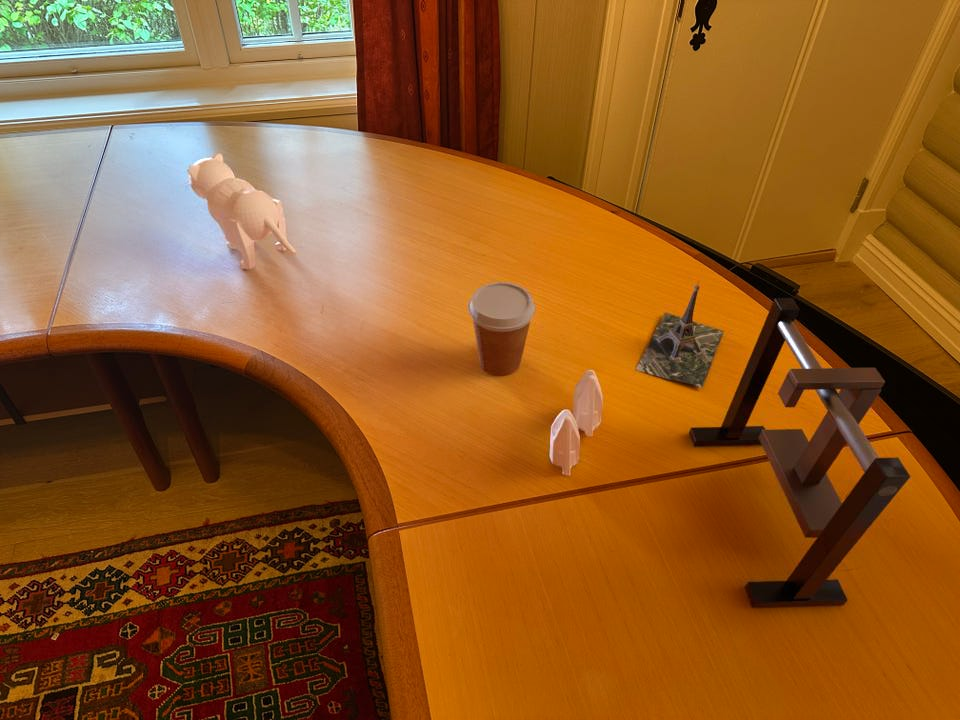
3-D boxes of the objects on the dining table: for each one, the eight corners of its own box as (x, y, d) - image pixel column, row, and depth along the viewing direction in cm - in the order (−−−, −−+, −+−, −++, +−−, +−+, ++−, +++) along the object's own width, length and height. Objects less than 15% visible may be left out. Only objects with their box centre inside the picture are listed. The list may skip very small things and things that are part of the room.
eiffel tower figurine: (702, 392, 88) (728, 321, 79) (635, 369, 92) (652, 299, 83) (723, 332, 98) (748, 264, 89) (661, 314, 102) (680, 246, 92)
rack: (843, 605, 65) (960, 477, 49) (752, 608, 65) (840, 480, 49) (760, 431, 83) (827, 296, 67) (688, 433, 83) (738, 297, 67)
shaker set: (579, 406, 86) (588, 348, 79) (606, 417, 85) (618, 360, 77) (540, 463, 79) (546, 406, 71) (569, 477, 77) (578, 420, 70)
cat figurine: (323, 260, 113) (306, 177, 102) (281, 288, 107) (257, 202, 96) (235, 222, 124) (210, 142, 112) (191, 245, 117) (160, 163, 106)
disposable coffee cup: (517, 336, 98) (521, 274, 89) (540, 375, 91) (546, 313, 83) (461, 348, 95) (459, 287, 87) (480, 390, 89) (480, 327, 81)
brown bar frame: (797, 437, 76) (860, 327, 64) (850, 537, 66) (937, 429, 53) (718, 438, 76) (766, 328, 63) (759, 539, 65) (826, 431, 53)
